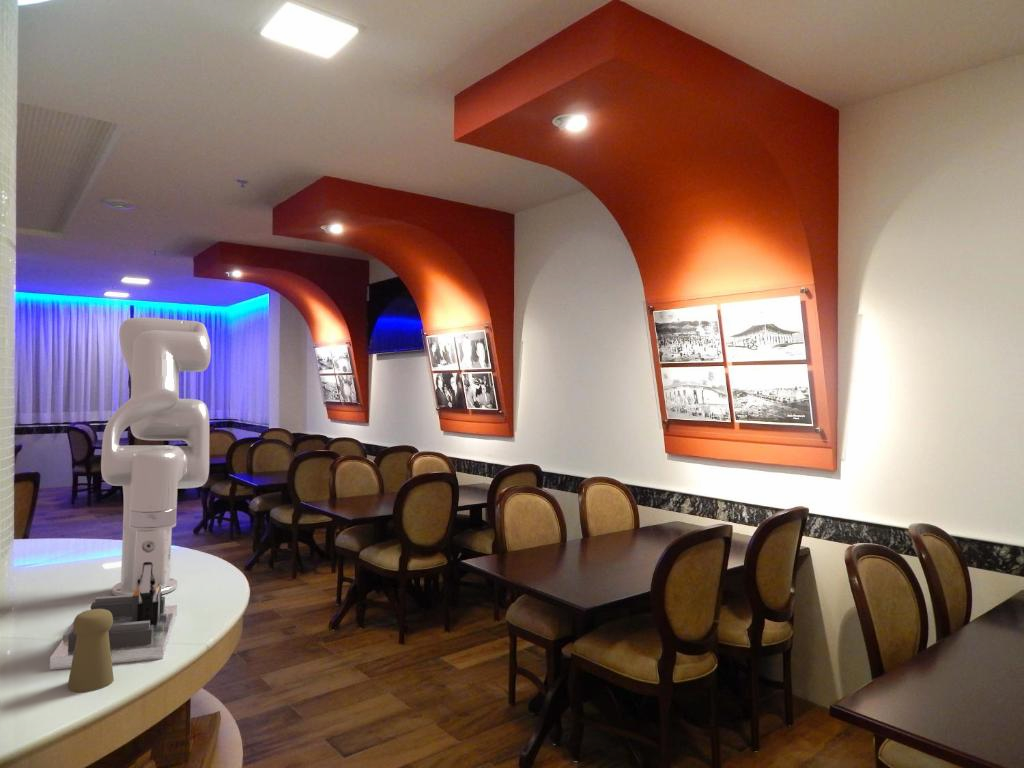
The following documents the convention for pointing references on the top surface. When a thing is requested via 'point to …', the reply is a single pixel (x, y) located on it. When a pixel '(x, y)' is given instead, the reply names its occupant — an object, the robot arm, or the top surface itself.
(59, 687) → the top surface
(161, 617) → the panel
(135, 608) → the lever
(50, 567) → the top surface
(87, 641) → the cork
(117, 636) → the long gray rail
